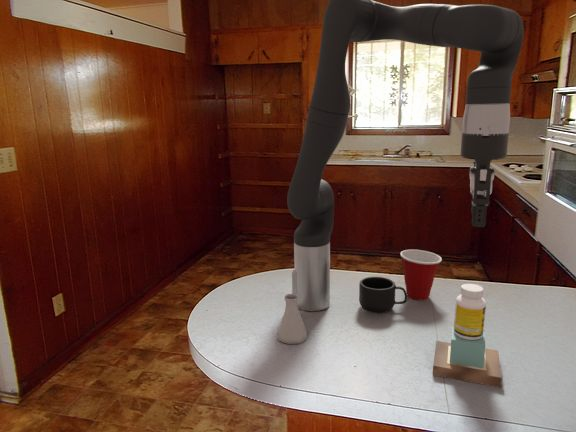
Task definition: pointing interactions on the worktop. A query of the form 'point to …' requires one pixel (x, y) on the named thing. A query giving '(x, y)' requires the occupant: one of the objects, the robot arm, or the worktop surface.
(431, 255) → the plastic cup
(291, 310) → the flask
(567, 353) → the worktop surface
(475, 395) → the worktop surface
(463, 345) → the teal block
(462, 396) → the worktop surface
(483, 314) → the supplement bottle
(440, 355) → the base board
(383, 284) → the mug
